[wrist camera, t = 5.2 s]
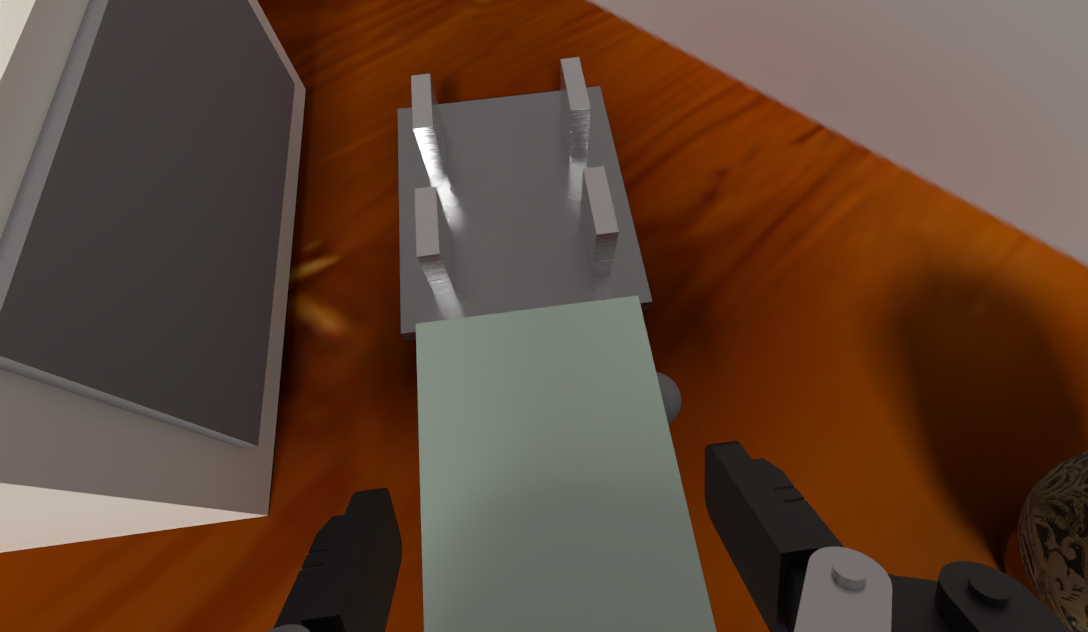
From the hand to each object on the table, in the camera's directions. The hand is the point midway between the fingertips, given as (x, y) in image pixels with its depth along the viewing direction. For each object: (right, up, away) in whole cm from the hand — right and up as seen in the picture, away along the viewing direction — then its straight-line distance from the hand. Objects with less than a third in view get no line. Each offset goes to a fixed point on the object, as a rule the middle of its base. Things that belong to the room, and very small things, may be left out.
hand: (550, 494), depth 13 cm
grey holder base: (-2, +9, +11) cm, 14 cm away
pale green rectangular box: (0, -3, +5) cm, 6 cm away
